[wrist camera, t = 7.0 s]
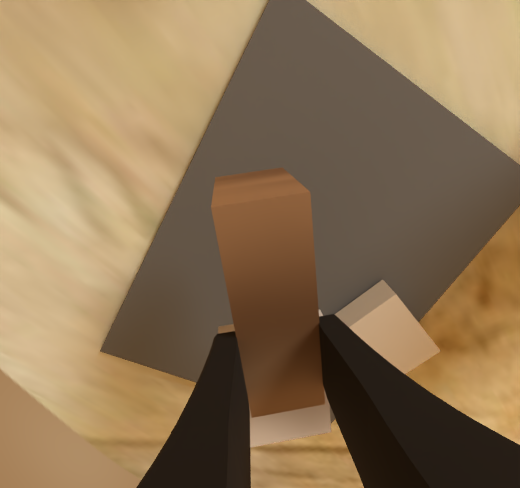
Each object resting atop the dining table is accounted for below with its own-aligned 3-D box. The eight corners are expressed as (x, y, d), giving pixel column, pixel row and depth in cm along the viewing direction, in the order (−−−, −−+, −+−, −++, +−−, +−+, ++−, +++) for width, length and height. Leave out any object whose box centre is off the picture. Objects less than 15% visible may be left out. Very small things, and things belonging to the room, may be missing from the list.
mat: (534, 179, 19) (540, 181, 19) (327, 420, 26) (329, 425, 25) (277, -17, 14) (279, -21, 14) (102, 346, 21) (99, 351, 20)
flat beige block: (313, 352, 20) (364, 400, 22) (396, 294, 19) (441, 351, 21) (306, 332, 21) (354, 379, 24) (381, 278, 20) (424, 332, 23)
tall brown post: (186, 181, 11) (168, 213, 8) (310, 163, 11) (350, 185, 8) (242, 437, 16) (247, 532, 12) (327, 421, 16) (357, 510, 13)
